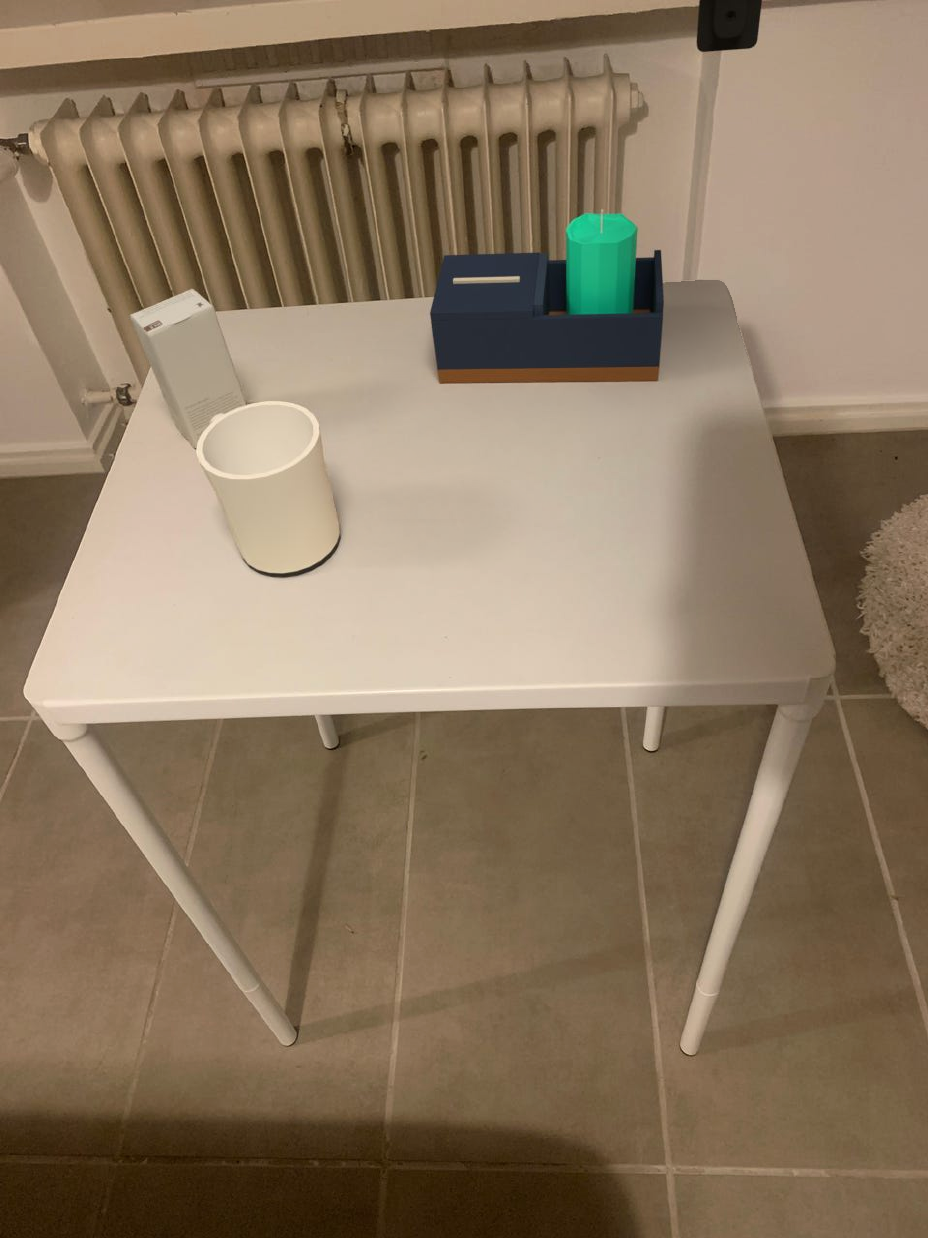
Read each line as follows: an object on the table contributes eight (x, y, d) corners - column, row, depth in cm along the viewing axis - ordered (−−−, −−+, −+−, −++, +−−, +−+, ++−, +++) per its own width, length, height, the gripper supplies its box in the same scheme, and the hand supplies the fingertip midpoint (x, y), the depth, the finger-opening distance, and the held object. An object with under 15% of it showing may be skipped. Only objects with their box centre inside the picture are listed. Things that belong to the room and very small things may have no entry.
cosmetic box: (233, 402, 87) (193, 283, 78) (255, 424, 85) (216, 303, 75) (173, 430, 85) (126, 311, 76) (194, 453, 82) (147, 333, 73)
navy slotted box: (655, 320, 90) (660, 245, 84) (658, 381, 83) (664, 304, 78) (451, 324, 93) (443, 251, 87) (439, 383, 86) (429, 309, 80)
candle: (630, 355, 84) (637, 226, 75) (563, 354, 85) (562, 227, 76) (633, 319, 88) (639, 192, 79) (569, 318, 89) (568, 193, 80)
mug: (369, 537, 73) (344, 432, 66) (280, 600, 70) (243, 497, 62) (286, 479, 79) (255, 376, 71) (200, 534, 75) (157, 433, 68)
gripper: (881, -429, 35) (805, 68, 48) (821, -433, 47) (773, -30, 59) (679, -399, 36) (657, 78, 49) (669, -410, 48) (653, -20, 60)
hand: (720, 19), depth 54 cm, fingers open, 9 cm apart
